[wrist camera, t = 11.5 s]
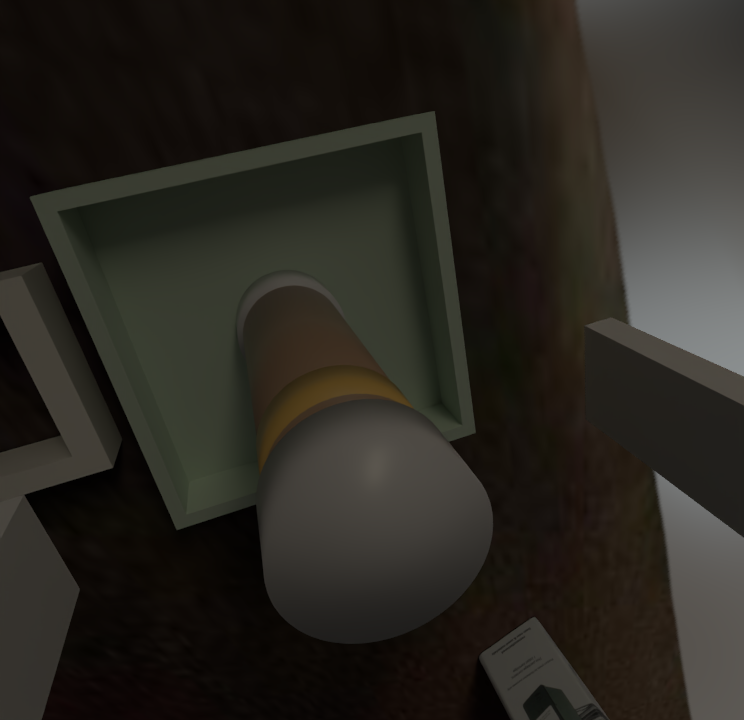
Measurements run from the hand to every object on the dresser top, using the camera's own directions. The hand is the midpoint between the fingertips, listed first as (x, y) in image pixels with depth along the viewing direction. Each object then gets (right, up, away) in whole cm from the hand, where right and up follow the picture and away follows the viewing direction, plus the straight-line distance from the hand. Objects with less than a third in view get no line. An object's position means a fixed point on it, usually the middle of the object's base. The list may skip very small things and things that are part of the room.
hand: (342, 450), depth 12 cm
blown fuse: (-3, +4, +11) cm, 12 cm away
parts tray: (-3, +4, +11) cm, 13 cm away
